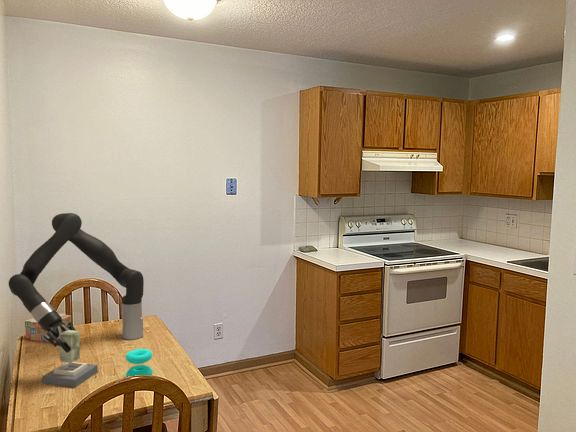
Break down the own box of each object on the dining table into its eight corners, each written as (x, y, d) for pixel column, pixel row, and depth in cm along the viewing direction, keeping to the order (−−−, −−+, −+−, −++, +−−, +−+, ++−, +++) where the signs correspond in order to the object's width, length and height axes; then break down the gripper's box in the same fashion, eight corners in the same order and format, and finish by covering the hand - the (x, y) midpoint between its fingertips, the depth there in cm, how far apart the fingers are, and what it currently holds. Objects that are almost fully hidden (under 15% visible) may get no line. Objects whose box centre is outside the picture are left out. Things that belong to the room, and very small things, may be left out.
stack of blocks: (25, 339, 228) (24, 314, 227) (35, 335, 234) (34, 311, 233) (62, 344, 223) (62, 318, 222) (72, 339, 229) (71, 314, 228)
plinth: (67, 368, 195) (66, 358, 195) (97, 372, 193) (97, 361, 192) (43, 383, 182) (42, 372, 181) (75, 387, 179) (75, 375, 178)
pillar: (68, 356, 189) (67, 329, 188) (79, 358, 188) (79, 330, 187) (60, 361, 184) (59, 334, 183) (71, 362, 183) (70, 335, 182)
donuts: (141, 358, 182) (120, 355, 185) (142, 383, 183) (120, 379, 186) (157, 349, 191) (136, 346, 194) (157, 373, 192) (137, 369, 195)
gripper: (38, 315, 179) (68, 349, 178) (64, 305, 193) (91, 336, 192) (27, 327, 181) (56, 361, 179) (52, 316, 195) (79, 348, 193)
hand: (74, 348), depth 186 cm, fingers closed on pillar, 5 cm apart
